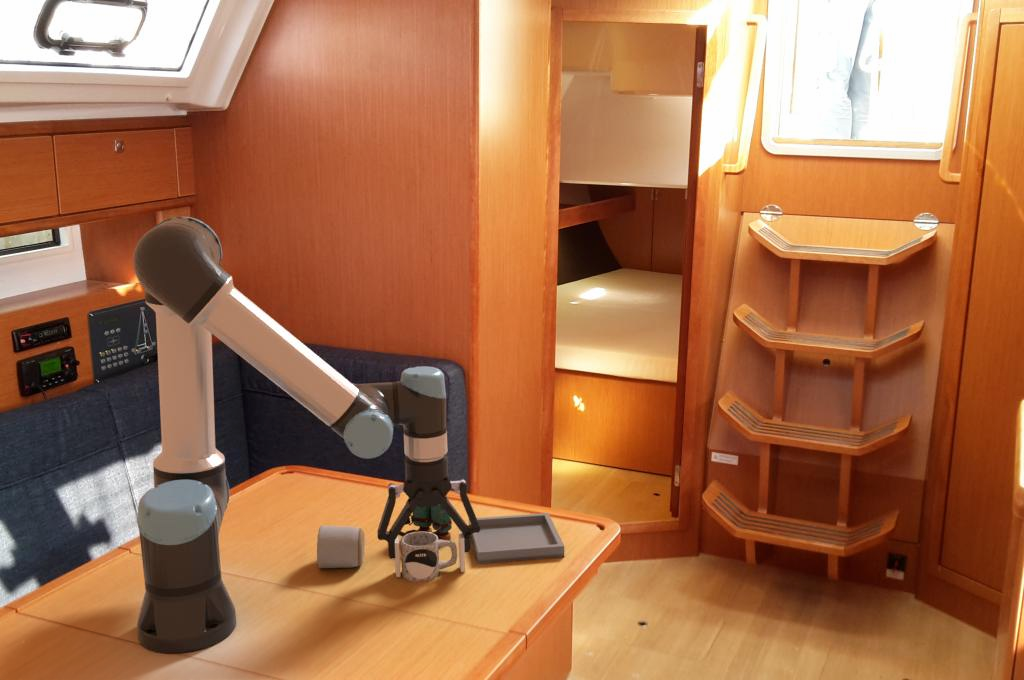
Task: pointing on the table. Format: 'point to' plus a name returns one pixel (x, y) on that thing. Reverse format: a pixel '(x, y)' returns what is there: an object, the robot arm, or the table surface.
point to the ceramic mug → (340, 547)
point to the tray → (516, 538)
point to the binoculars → (431, 521)
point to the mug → (424, 556)
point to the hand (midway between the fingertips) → (430, 571)
